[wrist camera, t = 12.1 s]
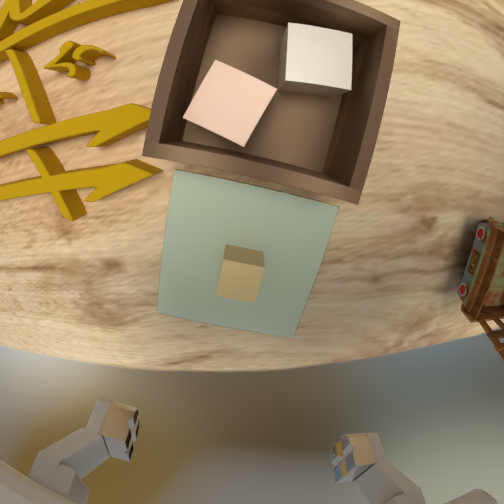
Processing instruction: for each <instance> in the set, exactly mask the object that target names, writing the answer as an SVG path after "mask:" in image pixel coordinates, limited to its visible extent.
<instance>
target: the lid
mask: <svg viewBox="0 0 504 504" xmlns="http://www.w3.org/2000/svg"><path fill="white" fill-rule="evenodd" d="M338 209H339V207H338V206H335V205H332V204H328V203H324V202H321V201H317V200H313V199H309V198H305V197H301V196H298V195H294V194H290V193H286V192H281V191H277V190H273V189H269V188H265V187H260V186H256V185H252V184H247V183H243V182H238V181H233V180H229V179H224V178H219V177H214V176H209V175H204V174H199V173H194V172H188V171H183V170H178V169H175V172H174V177H173V183H172V189H171V195H170V201H169V208H168V214H167V221H166V229H165V236H164V244H163V252H162V261H161V271H160V281H159V292H158V304H157V313H161V314H166V315H170V316H174V317H179V318H184V319H188V320H193V321H198V322H203V323H207V324H213V325H218V326H223V327H228V328H234V329H239V330H245V331H251V332H257V333H263V334H269V335H276V336H282V337H289V338H293V336H294V334H295V331H296V329H297V326H298V324H299V321H300V318H301V316H302V313H303V311H304V308H305V305H306V303H307V300H308V297H309V295H310V292H311V289H312V286H313V284H314V281H315V278H316V275H317V273H318V270H319V267H320V264H321V261H322V258H323V255H324V252H325V249H326V246H327V243H328V240H329V237H330V234H331V231H332V228H333V225H334V222H335V219H336V216H337V212H338Z"/></svg>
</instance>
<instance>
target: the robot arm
mask: <svg viewBox="0 0 504 504" xmlns="http://www.w3.org/2000/svg"><path fill="white" fill-rule="evenodd" d="M138 414H139V413H138V409H137V408H133V407H130V406H127V405H123V404H120V403H117V402H114V401H111V400H108V399H105V398H102V397H100V399H99V400H98V401H97V404H96V406H95V408H94V410H93V412H92V415H91V417H90V419H89V421H88V424H87V426H86V428H85V429H84V428H81V429H79V430H77V431H75V432H74V433H72V434H70V435H69V436H67V437H65V438H63V439H61V440H60V441H58V442H56V443H54V444H52V445H51V446H49V447H47V448H45V449H43V450H41V451H39V454H38V456H37V458H36V460H35V462H34V465H33V467H32V469H31V471H30V474H29V476H28V477H26V476H25V475H23V474H21V473H20V472H18V471H16V470H15V469H13V468H12V467H10V466H8V465H7V464H5V463H4V462H2V461H1V460H0V504H86V503H87V499H88V495H89V490H88V489H87V487H86V486H85V485H84V483H83V482H82V481H81V478H83V477H84V476H86V475H87V474H88V473H89V472H91V471H92V470H93V469H95V468H96V467H97V466H99V465H100V464H101V463H103V462H104V461H105V460H106V459H108V458H109V456H112V457H115V458H118V459H122V460H125V461H129V462H130V460H131V457H132V453H133V450H134V447H133V442H134V441H135V440H137V436H138V432H139V424H140V423H139V419H138V418H137V417H138ZM330 457H331V463H333V465H335V468H334V470H333V474H334V479H335V483H343V482H352V483H353V484H354V485H355V486H356V487H357V489H358V490H359V491H360V492H361V493H362V495H363V496H364V497H365V498H366V499H367V500H368V502H369V503H370V504H426V503H425V500H424V497H423V493H422V490H421V488H420V487H418V486H417V485H416V484H415V483H413V482H412V481H411V480H410V479H409V478H408V477H406V476H405V475H404V474H403V473H402V472H401V471H399V470H398V469H397V468H396V467H395V466H394V465H392V464H391V463H390V462H387V461H386V458H385V455H384V452H383V449H382V446H381V443H380V440H379V438H378V435H377V434H376V433H362V434H347V435H343V436H342V437H341V438H340V442H338V443H336V444H335V445H334V446H333V447H332V450H331V456H330ZM445 504H498V502H497V501H496V499H495V498H493V497H492V496H491V495H489V494H488V493H486V492H485V491H483V490H481V489H475V490H473V491H471V492H469V493H467V494H465V495H462V496H461V497H458V498H456V499H454V500H452V501H449V502H447V503H445Z"/></svg>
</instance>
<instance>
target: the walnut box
mask: <svg viewBox="0 0 504 504" xmlns="http://www.w3.org/2000/svg"><path fill="white" fill-rule="evenodd" d="M288 22H289V23H297V24H304V25H310V26H317V27H322V28H328V29H333V30H338V31H342V32H347V33H351V34H352V84H351V91H348V92H345V93H343V94H340V95H338V96H335V97H333V98H332V97H326V96H319V95H312V94H305V93H297V92H288V91H278V82H279V65H280V47H281V40H282V37H283V35H284V32H285V30H286V27H287V25H288ZM399 26H400V21H399V20H397V19H395V18H393V17H391V16H389V15H387V14H385V13H382V12H380V11H378V10H376V9H374V8H371V7H369V6H367V5H364V4H362V3H360V2H357V1H354V0H183V3H182V6H181V8H180V11H179V14H178V17H177V20H176V23H175V25H174V28H173V32H172V35H171V38H170V41H169V44H168V47H167V51H166V54H165V57H164V61H163V64H162V68H161V72H160V75H159V79H158V83H157V87H156V91H155V95H154V99H153V104H152V108H151V113H150V117H149V122H148V127H147V132H146V137H145V143H144V148H143V154H142V156H146V157H152V158H159V159H165V160H171V161H176V162H182V163H187V164H193V165H198V166H203V167H208V168H213V169H218V170H223V171H228V172H233V173H237V174H242V175H246V176H251V177H255V178H259V179H264V180H268V181H272V182H276V183H280V184H284V185H288V186H292V187H296V188H300V189H304V190H308V191H311V192H315V193H319V194H322V195H326V196H330V197H333V198H337V199H340V200H344V201H347V202H350V203H354V204H357V205H358V203H359V199H360V196H361V193H362V190H363V186H364V183H365V180H366V176H367V173H368V169H369V166H370V162H371V159H372V155H373V151H374V148H375V144H376V140H377V136H378V132H379V128H380V124H381V120H382V116H383V111H384V107H385V103H386V98H387V93H388V89H389V84H390V79H391V74H392V69H393V63H394V58H395V52H396V46H397V40H398V33H399ZM215 60H217V61H220V62H222V63H224V64H227V65H229V66H231V67H233V68H235V69H238V70H240V71H242V72H244V73H246V74H248V75H250V76H253V77H255V78H257V79H259V80H261V81H263V82H265V83H267V84H269V85H271V86H272V87H274V88H276V89H277V90H276V92H275V94H274V95H273V97H272V99H271V100H270V102H269V104H268V105H267V107H266V109H265V111H264V112H263V114H262V116H261V118H260V119H259V121H258V123H257V125H256V126H255V128H254V130H253V132H252V133H251V135H250V137H249V139H248V141H247V142H246V144H245V146H244V147H243V146H241V145H239V144H237V143H235V142H233V141H231V140H229V139H227V138H225V137H223V136H221V135H219V134H217V133H214V132H212V131H210V130H208V129H206V128H204V127H202V126H200V125H197V124H195V123H193V122H191V121H189V120H187V119H184V118H183V116H184V114H185V112H186V111H187V109H188V107H189V105H190V103H191V101H192V99H193V98H194V96H195V94H196V92H197V90H198V89H199V87H200V85H201V83H202V82H203V80H204V78H205V76H206V75H207V73H208V71H209V70H210V68H211V66H212V65H213V63H214V61H215Z"/></svg>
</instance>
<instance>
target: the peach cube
mask: <svg viewBox="0 0 504 504" xmlns="http://www.w3.org/2000/svg"><path fill="white" fill-rule="evenodd" d="M276 90H277V89H276V88H274V87H272V86H271V85H269V84H267V83H265V82H263V81H261V80H259V79H257V78H255V77H253V76H250V75H248V74H246V73H244V72H242V71H240V70H238V69H235V68H233V67H231V66H229V65H227V64H224V63H222V62H220V61H217V60H215V61H214V63H213V65H212V66H211V68H210V70H209V71H208V73H207V75H206V76H205V78H204V80H203V82H202V83H201V85H200V87H199V89H198V90H197V92H196V94H195V96H194V98H193V99H192V101H191V103H190V105H189V107H188V109H187V111H186V112H185V114H184V116H183V118H184V119H187V120H189V121H191V122H193V123H195V124H197V125H200V126H202V127H204V128H206V129H208V130H210V131H212V132H214V133H217V134H219V135H221V136H223V137H225V138H227V139H229V140H231V141H233V142H235V143H237V144H239V145H241V146H243V147H244V146H245V144H246V142H247V141H248V139H249V137H250V135H251V133H252V132H253V130H254V128H255V126H256V125H257V123H258V121H259V119H260V118H261V116H262V114H263V112H264V111H265V109H266V107H267V105H268V104H269V102H270V100H271V99H272V97H273V95H274V94H275V92H276Z"/></svg>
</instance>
